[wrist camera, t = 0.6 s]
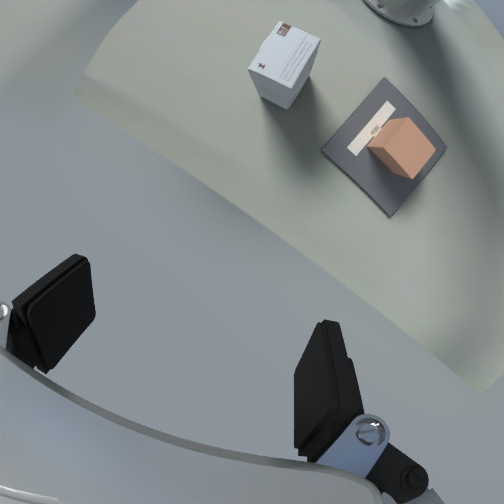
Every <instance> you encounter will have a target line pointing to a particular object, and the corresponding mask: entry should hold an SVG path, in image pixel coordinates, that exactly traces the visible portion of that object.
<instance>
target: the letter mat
mask: <svg viewBox="0 0 504 504" xmlns="http://www.w3.org/2000/svg"><path fill="white" fill-rule="evenodd" d="M407 117H409V118H410V119H411V120H412V121H413V123H414V124H415V125H416V126H417V127H418V128H419V129H420V131H421V132H422V133H423V134H424V135H425V137H426V138H427V139H428V140H429V141H430V143H431V144H432V145H433V146H434V148H435V149H436V151H435V152H434V153H433V154H432V156H431V157H430V158H429V160H428V161H427V162H426V163H425V165H424V166H423V167H422V168H421V170H420V171H419V172H418V173H417V175H416V176H415V177H414V178H413V179H409V178H407V177H404V176H401V175H398V174H395V173H392V172H391V171H390V169H389V168H388V167H387V166H386V165H385V164H384V163H383V162H382V161H381V160H380V159H379V158H378V157H377V156H376V155H375V154H374V153H373V152H372V151H371V150H370V149H369V148H368V147H367V145H368V144H369V143H370V142H371V141H372V139H373V138H374V137H375V136H376V135H377V133H378V132H379V131H380V130H381V129H382V128H383V126H384V125H385V124H386V123H387V122H388V120H392V119H399V118H407ZM446 148H447V146H446V145H445V144H444V142H443V141H442V140H441V138H440V137H439V136H438V134H437V133H436V132H435V131H434V129H433V128H432V127H431V126H430V125H429V123H428V122H427V121H426V120H425V119H424V117H423V116H422V115H421V114H420V113H419V112H418V111H417V110H416V108H415V107H414V106H413V105H412V104H411V103H410V102H409V101H408V100H407V99H406V98H405V97H404V96H403V95H402V94H401V92H400V91H399V90H398V89H397V88H396V87H395V86H393V85H392V84H391V83H390V82H389V81H388V80H387V79H386V78H383V79H382V80H381V81H380V83H379V84H378V85H377V86H376V87H375V88H374V89H373V91H372V92H371V93H370V94H369V95H368V96H367V97H366V98H365V100H364V101H363V102H362V103H361V104H360V105H359V106H358V108H357V109H356V110H355V111H354V112H353V113H352V115H351V116H350V117H349V118H348V119H347V120H346V121H345V123H344V124H343V125H342V126H341V127H340V128H339V130H338V131H337V132H336V133H335V134H334V135H333V136H332V138H331V139H330V140H329V141H328V142H327V143H326V145H325V146H324V147H323V148H322V149H321V151H322V152H323V153H325V154H326V155H327V156H328V157H329V158H330V159H331V160H333V161H334V162H335V163H336V164H337V165H338V166H339V167H340V168H341V169H343V170H344V171H345V172H346V173H347V174H348V175H349V176H350V177H351V178H352V179H353V180H354V181H355V182H356V183H357V184H358V185H360V186H361V187H362V188H363V189H364V190H365V191H366V192H367V193H368V194H369V195H370V196H371V197H372V198H373V199H374V200H375V201H376V202H377V203H378V204H379V206H380V207H381V208H382V209H383V210H384V211H385V212H386V213H387V214H388V215H389V216H391V215H392V214H393V213H394V212H395V211H396V210H397V208H398V207H399V206H400V205H401V204H402V203H403V201H404V200H405V199H406V198H407V197H408V196H409V194H410V193H411V192H412V191H413V190H414V188H415V187H416V186H417V185H418V184H419V182H420V181H421V180H422V179H423V177H424V176H425V175H426V174H427V172H428V171H429V170H430V169H431V167H432V166H433V165H434V163H435V162H436V161H437V160H438V158H439V157H440V156H441V154H442V153H443V152H444V150H445V149H446Z"/></svg>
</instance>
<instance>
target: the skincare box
mask: <svg viewBox="0 0 504 504" xmlns="http://www.w3.org/2000/svg"><path fill="white" fill-rule="evenodd" d="M320 42H321V39H319V38H317V37H315V36H313V35H311V34H308V33H306V32H304V31H302V30H300V29H297V28H295V27H293V26H291V25H288V24H286V23H284V22H281V21H279V22H278V24H277V25H276V26H275V28H274V29H273V31H272V32H271V34H270V35H269V37H268V38H267V39H266V40H265V41H264V42H263V44H262V45H261V47H260V50H259V52H258V53H257V55H256V56H255V58H254V59H253V61H252V63H251V65H250V66H249V68H248V71H249V73H250V76H251V78H252V80H253V82H254V85H255V87H256V89H257V92H258V94H259V96H260V97H262V98H264V99H266V100H268V101H270V102H272V103H274V104H276V105H278V106H280V107H282V108H284V109H286V110H288V109H289V108H290V106H291V105H292V103H293V102H294V100H295V99H296V97H297V96H298V94H299V92H300V91H301V89H302V87H303V86H304V84H305V82H306V80H307V78H308V76H309V74H310V72H311V69H312V66H313V63H314V60H315V57H316V54H317V51H318V47H319V44H320Z"/></svg>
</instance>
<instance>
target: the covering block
mask: <svg viewBox="0 0 504 504" xmlns="http://www.w3.org/2000/svg"><path fill="white" fill-rule="evenodd" d="M367 147H368V148H369V149H370V150H371V151H372V152H373V153H374V154H375V155H376V156H377V157H378V158H379V159H380V160H381V161H382V162H383V163H384V164H385V165H386V166H387V167H388V168H389V169H390V171H391V172H392V173H395V174H398V175H401V176H404V177H407V178H409V179H413V178H414V177H415V176H416V175H417V173H418V172H419V171H420V170H421V168H422V167H423V166H424V165H425V163H426V162H427V161H428V160H429V158H430V157H431V156H432V154H433V153H434V152H435V151H436V149H435V148H434V146H433V145H432V144H431V143H430V141H429V140H428V139H427V138H426V137H425V135H424V134H423V133H422V132H421V131H420V129H419V128H418V127H417V126H416V125H415V124H414V123H413V121H412V120H411V119H410V118H409V117H407V118H399V119H392V120H388V122H387V123H386V124H385V125H384V126H383V128H382V129H381V130H380V131H379V132H378V133H377V135H376V136H375V137H374V138H373V139H372V141H371V142H370V143H369V144H368V145H367Z"/></svg>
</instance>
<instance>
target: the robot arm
mask: <svg viewBox="0 0 504 504" xmlns="http://www.w3.org/2000/svg"><path fill="white" fill-rule="evenodd" d="M364 1H365V2H366V3H367V4H368V5H369V6H370V7H371V8H372V9H374V10H375V11H376V12H377V13H379V14H380V15H382V16H383V17H385V18H387V19H389V20H391V21H393V22H395V23H398V24H401V25H405V26H410V27H418V26H422V25H425V24H426V23H428V22H429V21H430V20H431V19H432V16H433V12H434V9H433V5H434V4H435V3H436V2H438V1H439V0H364ZM12 304H13V307H14V308H13V309H12V310H11V308H10V306H9V305H8V304H7V303H5V302H0V504H445V503H444V502H443V501H442V500H441V498H440V497H439V496H438V495H437V493H436V492H435V491H434V489H433V488H431V489H430V490H429V489H428V488H427V486H428V481H429V479H428V474H427V472H426V471H425V469H424V468H423V467H422V466H420V465H419V464H417V463H416V462H415V461H413V460H412V459H410V458H409V457H408V456H406V455H405V454H403V453H402V452H401V451H399V450H398V449H397V448H395V447H394V446H393V445H391V444H390V443H389V442H388V441H389V438H390V431H389V429H388V426H387V425H386V423H385V422H384V421H383V420H382V419H381V418H379V417H377V416H375V415H371V414H364V409H363V404H362V399H361V395H360V390H359V386H358V382H357V377H356V374H355V369H354V366H353V362H352V359H351V358H348V357H347V352H346V348H345V344H344V340H343V336H342V332H341V328H340V325H339V323H338V322H335V321H330V320H323V321H322V323H320V322H318V324H317V325H316V327H315V329H314V331H313V334H312V336H311V338H310V340H309V342H308V345H307V347H306V349H305V351H304V353H303V355H302V357H301V359H300V361H299V363H298V365H297V367H296V370H295V373H294V447H295V448H298V456H307V462H304V461H295V460H288V459H281V458H273V457H266V456H259V455H253V454H248V453H242V452H237V451H232V450H227V449H222V448H217V447H213V446H209V445H205V444H201V443H197V442H194V441H190V440H186V439H183V438H179V437H176V436H173V435H170V434H167V433H164V432H161V431H158V430H155V429H152V428H149V427H146V426H144V425H141V424H138V423H136V422H133V421H131V420H128V419H126V418H123V417H121V416H119V415H116V414H114V413H112V412H110V411H108V410H105V409H103V408H101V407H99V406H97V405H95V404H93V403H91V402H89V401H87V400H85V399H83V398H81V397H79V396H77V395H75V394H74V393H71V392H70V391H68V390H66V389H65V388H63V387H61V386H59V385H57V384H56V383H54V382H52V381H51V380H50V379H48V378H46V377H45V376H43V375H42V374H40V373H39V372H37V371H35V370H34V367H35V366H36V367H37V369H39V370H40V371H42V372H44V373H45V374H47V372H48V371H49V370H50V369H53V368H54V367H55V366H56V365H57V364H58V362H59V361H60V360H61V359H62V357H63V356H64V355H65V354H66V352H67V351H68V350H69V349H70V347H71V346H72V345H73V344H74V343H75V341H76V340H77V339H78V338H79V337H80V335H81V334H82V333H83V332H84V331H85V330H86V328H87V327H88V326H89V325H90V324H91V323H92V322H93V320H94V318H95V315H96V311H95V305H94V297H93V288H92V279H91V269H90V263H89V262H88V259H87V258H86V257H84V256H81V255H78V254H73V255H72V256H70V257H69V258H68V259H66V260H65V261H63V262H62V263H61V264H59V265H58V266H57V267H55V268H54V269H52V270H51V271H50V272H48V273H47V274H46V275H44V276H43V277H42V278H40V279H39V280H38V281H36V282H35V283H34V284H33V285H32V286H30V287H29V288H27V289H26V290H25V291H24V292H22V294H20V295H19V296H18V297H16V298H15V299H14V300H13V301H12Z"/></svg>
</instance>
